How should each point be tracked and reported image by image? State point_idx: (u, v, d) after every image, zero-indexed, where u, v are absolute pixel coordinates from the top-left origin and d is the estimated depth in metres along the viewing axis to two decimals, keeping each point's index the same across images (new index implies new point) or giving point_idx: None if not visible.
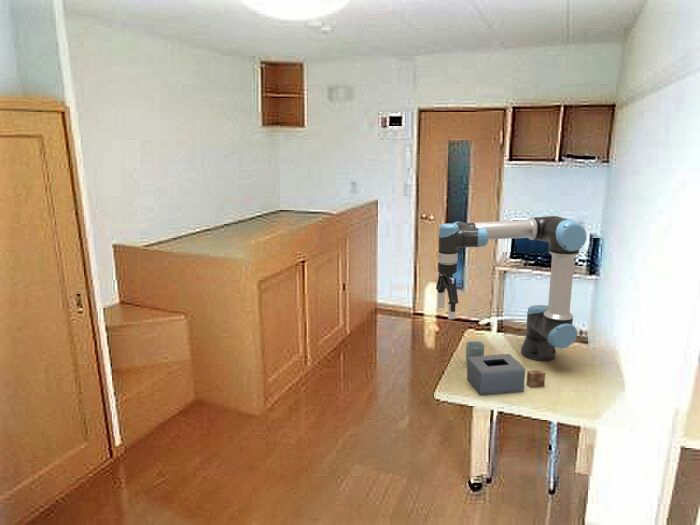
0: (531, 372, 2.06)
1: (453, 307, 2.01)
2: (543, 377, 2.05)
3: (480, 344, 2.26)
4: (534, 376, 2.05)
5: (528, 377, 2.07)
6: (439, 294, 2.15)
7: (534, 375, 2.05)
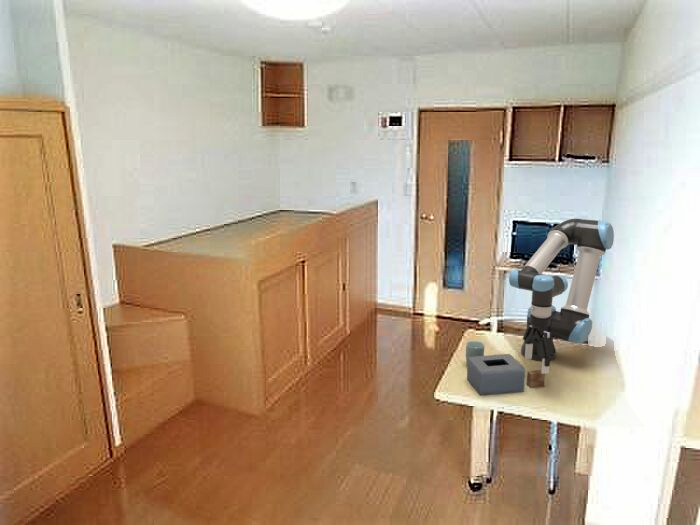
0: (531, 372, 2.06)
1: (548, 362, 1.96)
2: (543, 377, 2.05)
3: (480, 344, 2.26)
4: (534, 376, 2.05)
5: (528, 377, 2.07)
6: (527, 345, 2.10)
7: (534, 375, 2.05)
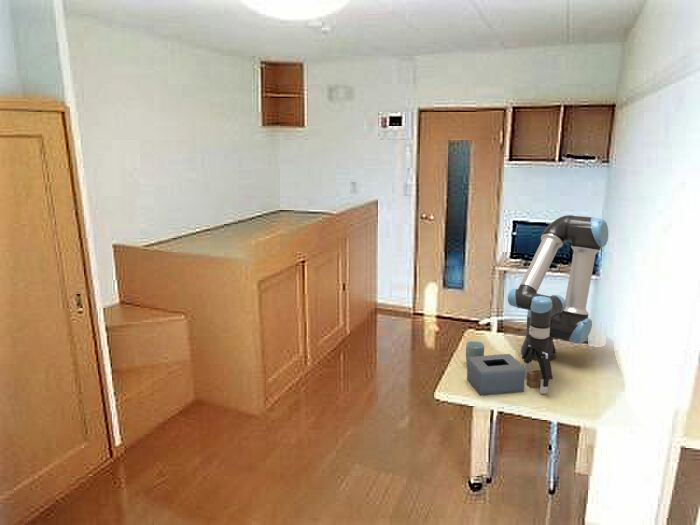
0: (531, 372, 2.06)
1: (546, 382, 1.98)
2: None
3: (480, 344, 2.26)
4: (534, 376, 2.05)
5: (528, 377, 2.07)
6: (526, 364, 2.12)
7: (534, 375, 2.05)
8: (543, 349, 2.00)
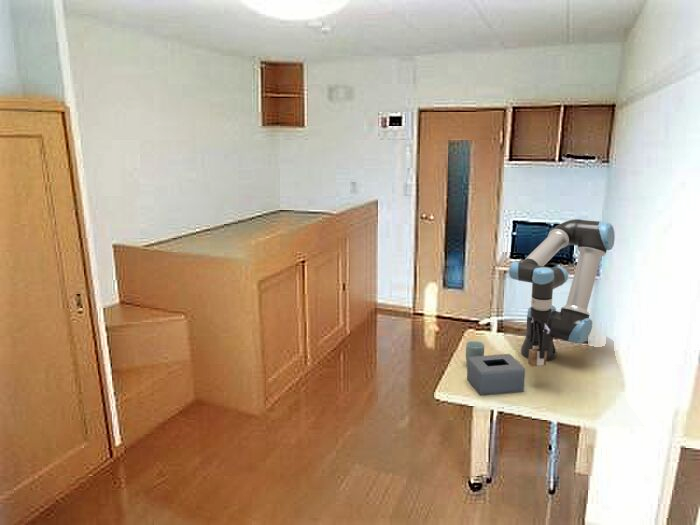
0: (533, 350, 2.04)
1: (542, 354, 2.01)
2: (545, 355, 2.04)
3: (480, 344, 2.26)
4: (535, 354, 2.03)
5: (529, 356, 2.05)
6: (534, 347, 2.05)
7: (536, 353, 2.03)
8: (545, 321, 1.97)
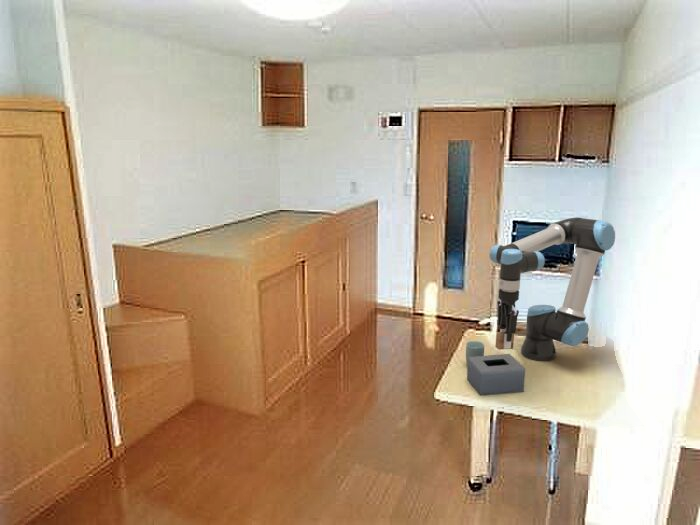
0: (500, 333, 2.02)
1: (509, 337, 1.99)
2: (512, 339, 2.02)
3: (480, 344, 2.26)
4: (502, 337, 2.01)
5: (497, 338, 2.02)
6: (502, 331, 2.03)
7: (503, 336, 2.01)
8: (513, 302, 1.95)
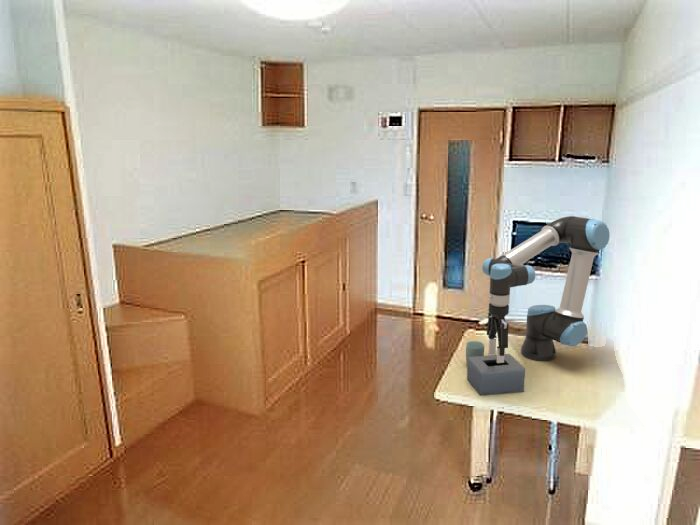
0: None
1: (502, 351, 1.99)
2: None
3: (480, 344, 2.26)
4: None
5: None
6: (490, 340, 2.07)
7: None
8: (503, 317, 1.97)
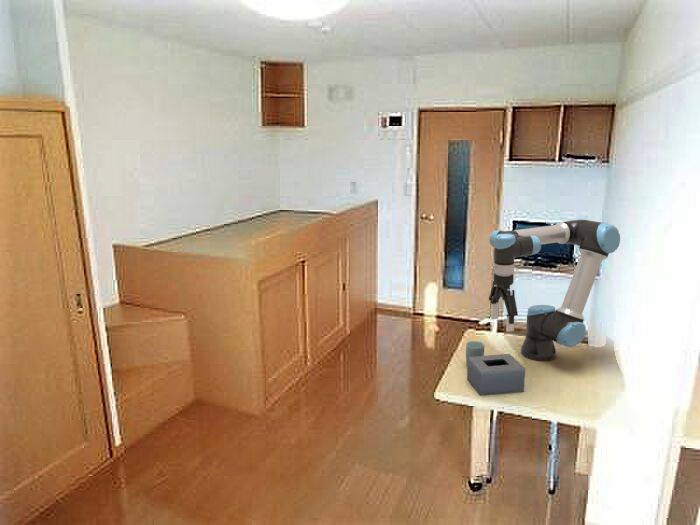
0: None
1: (512, 319, 1.97)
2: None
3: (480, 344, 2.26)
4: None
5: None
6: (493, 305, 2.11)
7: None
8: (508, 286, 1.98)
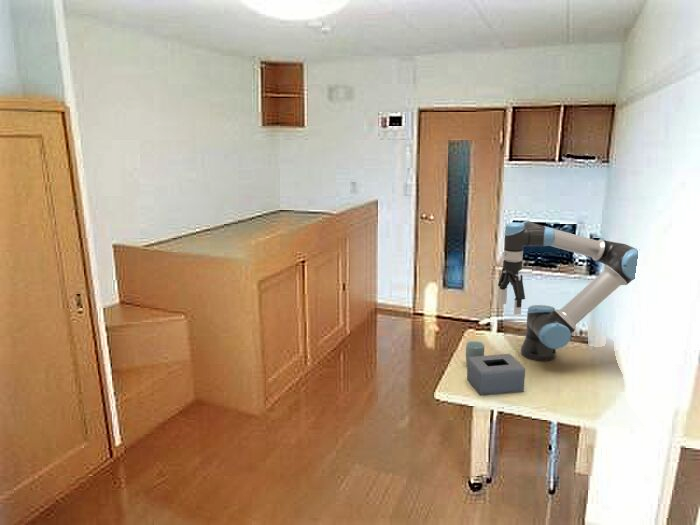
0: None
1: (519, 303, 2.09)
2: None
3: (480, 344, 2.26)
4: None
5: None
6: (502, 291, 2.22)
7: None
8: (516, 272, 2.10)
